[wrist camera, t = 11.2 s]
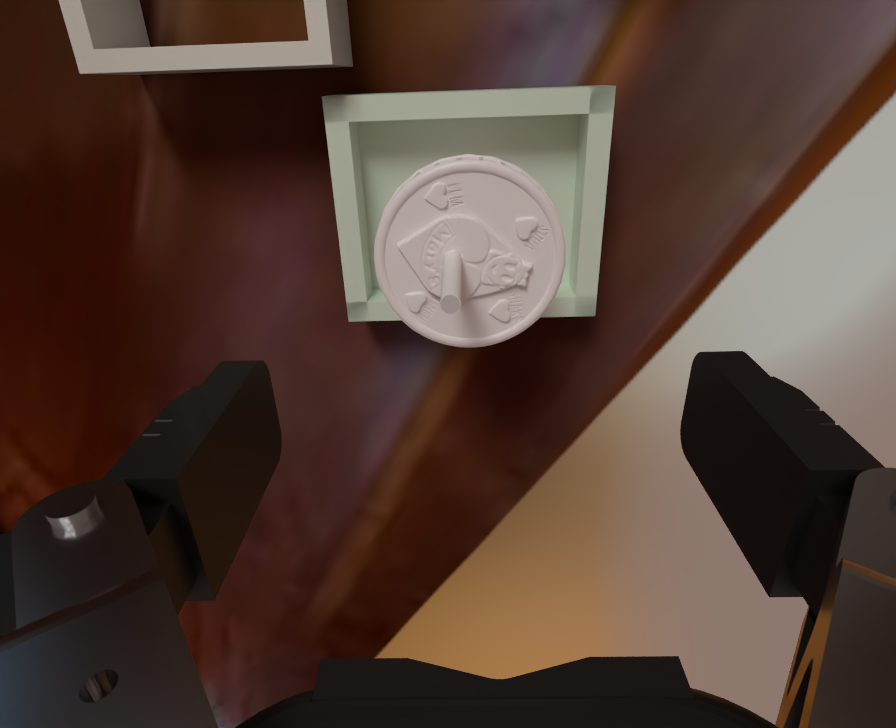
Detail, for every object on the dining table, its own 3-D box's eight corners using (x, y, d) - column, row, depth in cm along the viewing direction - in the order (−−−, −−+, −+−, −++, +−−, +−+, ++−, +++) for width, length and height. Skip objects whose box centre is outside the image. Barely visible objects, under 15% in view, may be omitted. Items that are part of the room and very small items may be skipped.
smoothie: (415, 116, 25) (368, 150, 13) (552, 150, 26) (635, 214, 13) (390, 252, 28) (331, 389, 16) (514, 281, 29) (553, 435, 16)
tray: (358, 300, 30) (348, 321, 28) (336, 94, 26) (321, 96, 23) (583, 295, 30) (595, 316, 27) (599, 85, 26) (615, 85, 23)
